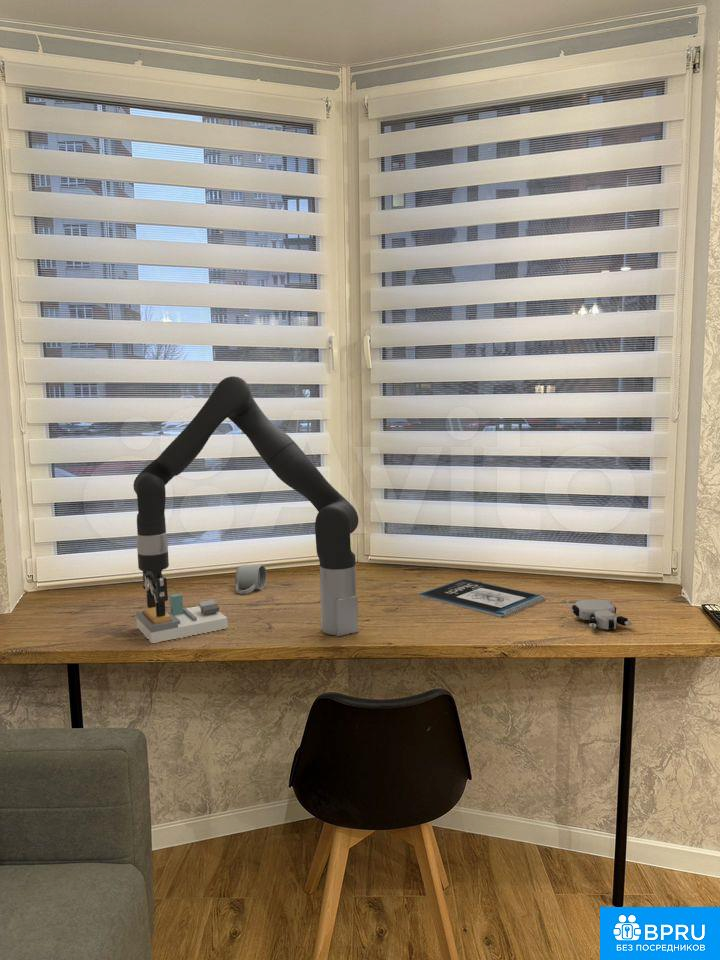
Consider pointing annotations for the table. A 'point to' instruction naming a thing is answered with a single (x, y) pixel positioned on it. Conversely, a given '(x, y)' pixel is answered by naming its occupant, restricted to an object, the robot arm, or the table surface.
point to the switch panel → (181, 624)
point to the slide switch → (176, 604)
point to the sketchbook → (483, 597)
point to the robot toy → (598, 613)
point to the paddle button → (155, 616)
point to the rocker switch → (208, 607)
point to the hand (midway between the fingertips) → (156, 611)
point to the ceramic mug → (250, 578)
